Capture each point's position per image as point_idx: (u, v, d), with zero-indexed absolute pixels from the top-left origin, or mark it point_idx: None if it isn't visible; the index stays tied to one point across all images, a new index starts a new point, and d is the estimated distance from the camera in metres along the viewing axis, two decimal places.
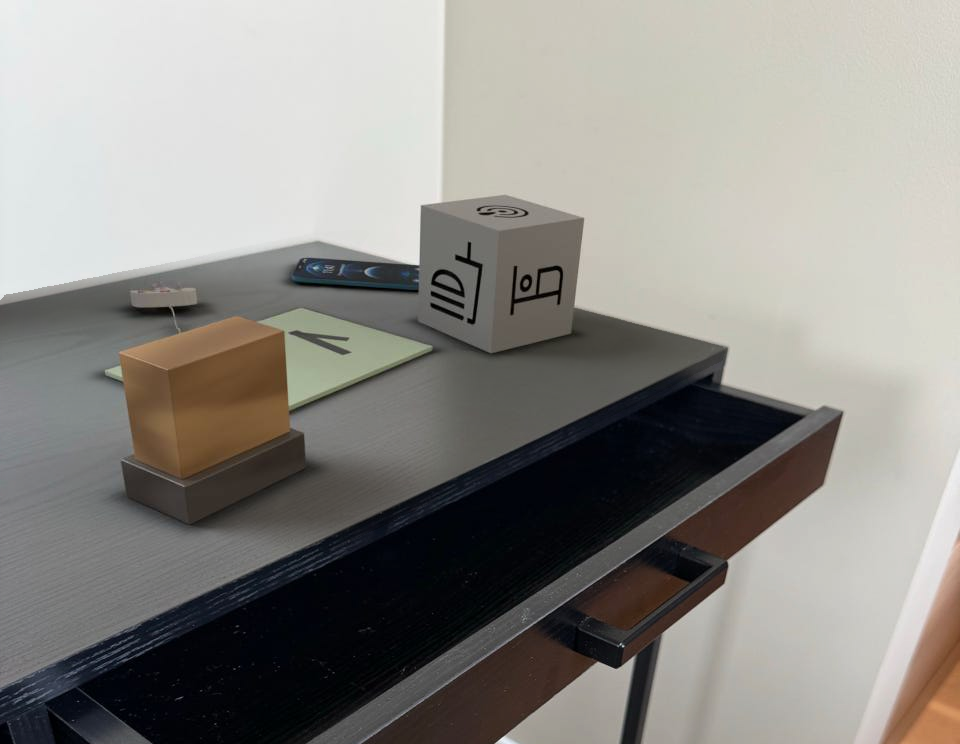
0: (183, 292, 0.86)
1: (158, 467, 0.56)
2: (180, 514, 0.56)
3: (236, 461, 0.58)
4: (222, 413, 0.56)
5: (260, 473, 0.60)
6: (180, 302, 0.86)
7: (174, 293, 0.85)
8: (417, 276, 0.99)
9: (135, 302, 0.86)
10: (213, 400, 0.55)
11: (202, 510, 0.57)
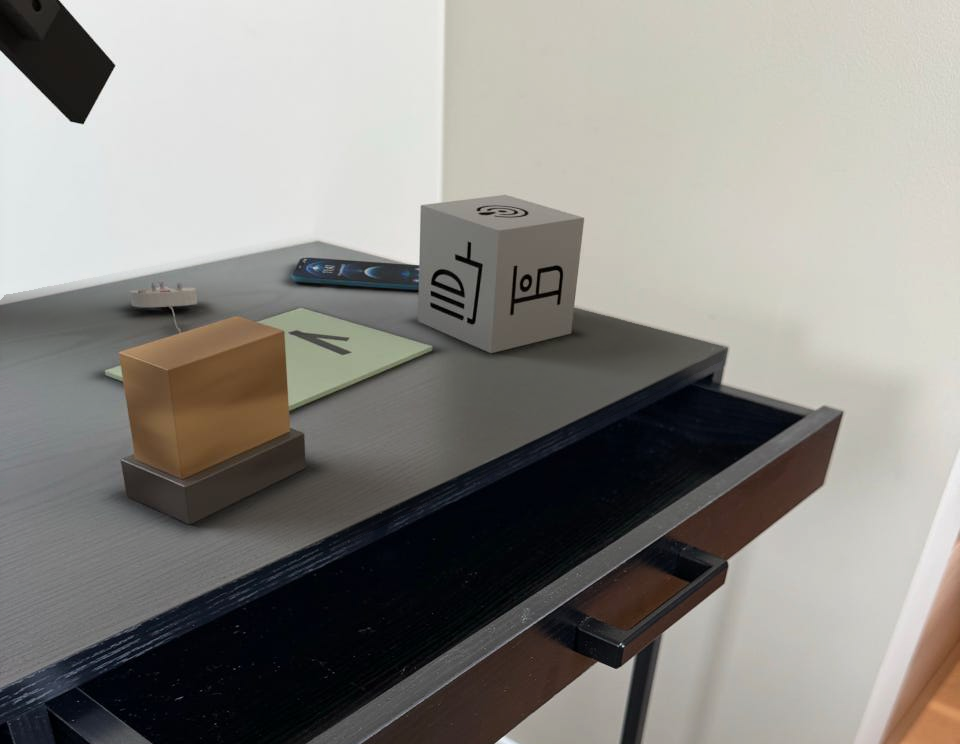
0: (183, 292, 0.86)
1: (158, 467, 0.56)
2: (180, 514, 0.56)
3: (236, 461, 0.58)
4: (222, 413, 0.56)
5: (260, 473, 0.60)
6: (180, 302, 0.86)
7: (174, 293, 0.85)
8: (417, 276, 0.99)
9: (135, 302, 0.86)
10: (213, 400, 0.55)
11: (202, 510, 0.57)
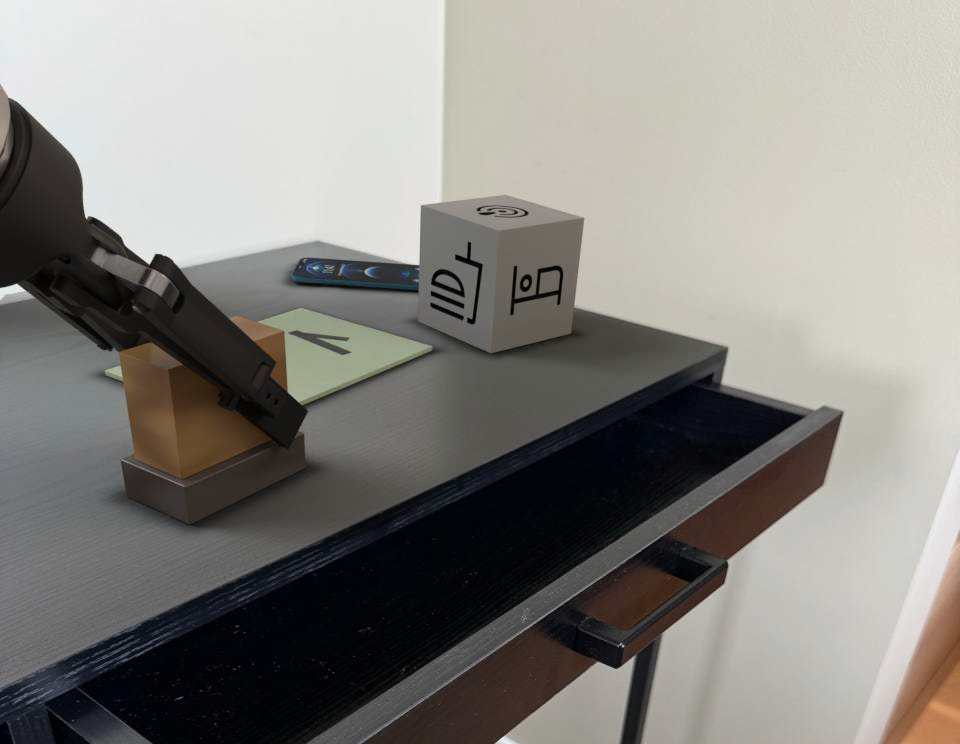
0: None
1: (158, 467, 0.56)
2: (180, 514, 0.56)
3: (236, 461, 0.58)
4: (222, 413, 0.56)
5: (260, 473, 0.60)
6: None
7: None
8: (417, 276, 0.99)
9: None
10: (213, 400, 0.55)
11: (202, 510, 0.57)
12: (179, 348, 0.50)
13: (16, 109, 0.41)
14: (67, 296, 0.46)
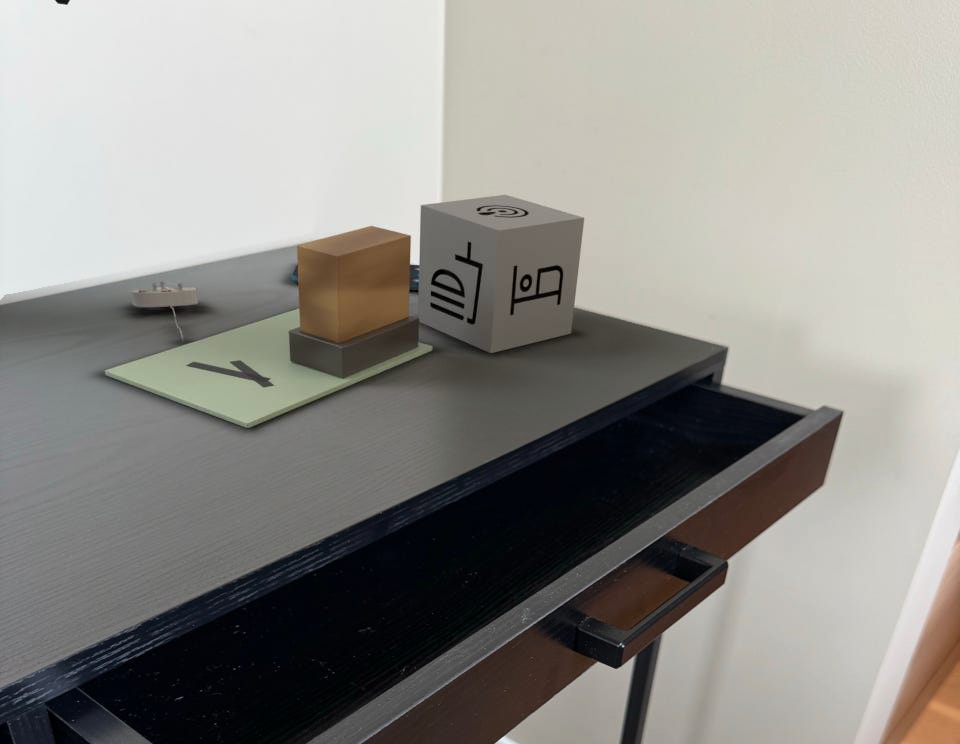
0: (184, 292, 0.86)
1: (319, 335, 0.75)
2: (336, 371, 0.76)
3: (375, 333, 0.77)
4: (367, 295, 0.75)
5: (389, 346, 0.79)
6: (181, 302, 0.86)
7: (175, 293, 0.86)
8: (417, 276, 0.99)
9: (136, 301, 0.86)
10: (363, 284, 0.74)
11: (351, 369, 0.76)
12: None
13: None
14: None
